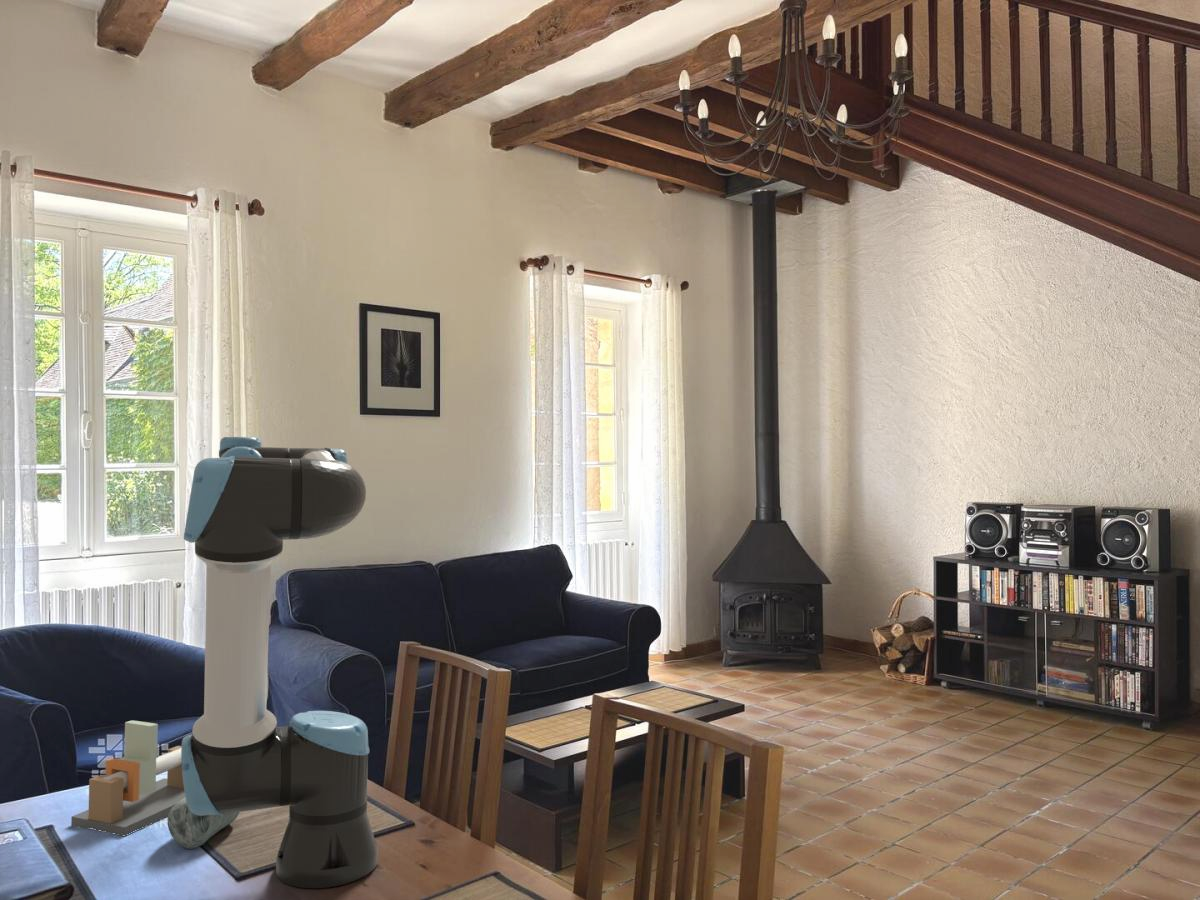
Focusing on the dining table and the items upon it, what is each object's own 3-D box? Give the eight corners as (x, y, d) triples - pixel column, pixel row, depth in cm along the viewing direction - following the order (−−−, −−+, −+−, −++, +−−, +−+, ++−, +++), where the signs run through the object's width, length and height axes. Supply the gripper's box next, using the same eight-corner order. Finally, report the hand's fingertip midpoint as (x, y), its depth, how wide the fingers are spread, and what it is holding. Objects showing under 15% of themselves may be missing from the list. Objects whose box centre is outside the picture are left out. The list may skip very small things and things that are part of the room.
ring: (138, 799, 155) (139, 762, 155) (133, 802, 154) (134, 764, 154) (110, 794, 157) (111, 758, 157) (105, 796, 156) (105, 760, 156)
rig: (213, 794, 168) (214, 748, 168) (124, 836, 149) (126, 784, 149) (163, 786, 172) (164, 741, 172) (71, 825, 153) (72, 775, 153)
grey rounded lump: (209, 838, 141) (195, 776, 145) (159, 861, 142) (146, 799, 146) (261, 826, 154) (247, 769, 157) (215, 848, 155) (202, 791, 159)
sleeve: (156, 789, 159) (157, 723, 159) (138, 797, 155) (139, 730, 155) (130, 784, 161) (132, 720, 161) (111, 792, 157) (113, 726, 157)
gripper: (247, 515, 178) (245, 633, 178) (197, 518, 166) (195, 646, 166) (278, 516, 176) (276, 636, 175) (230, 520, 163) (227, 649, 163)
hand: (236, 641), depth 171 cm, fingers closed
